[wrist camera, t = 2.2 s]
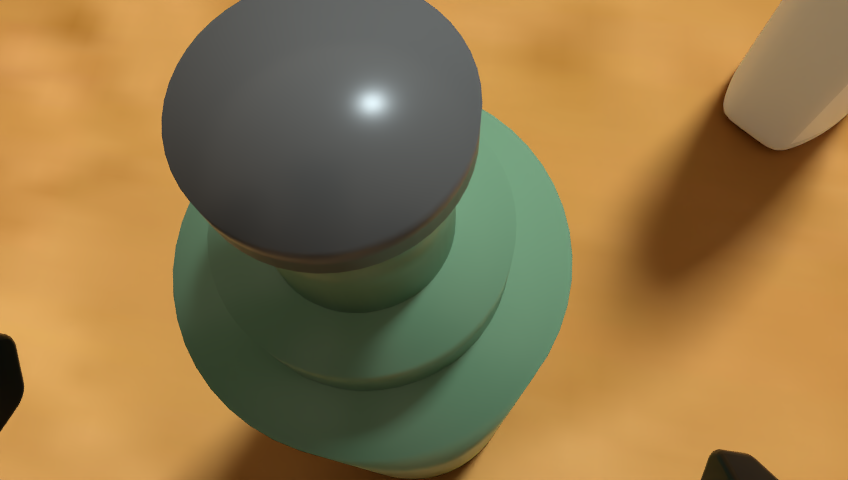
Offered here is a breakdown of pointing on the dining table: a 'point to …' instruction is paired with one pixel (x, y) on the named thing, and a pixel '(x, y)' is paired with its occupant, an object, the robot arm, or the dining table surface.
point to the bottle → (359, 233)
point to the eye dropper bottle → (793, 75)
